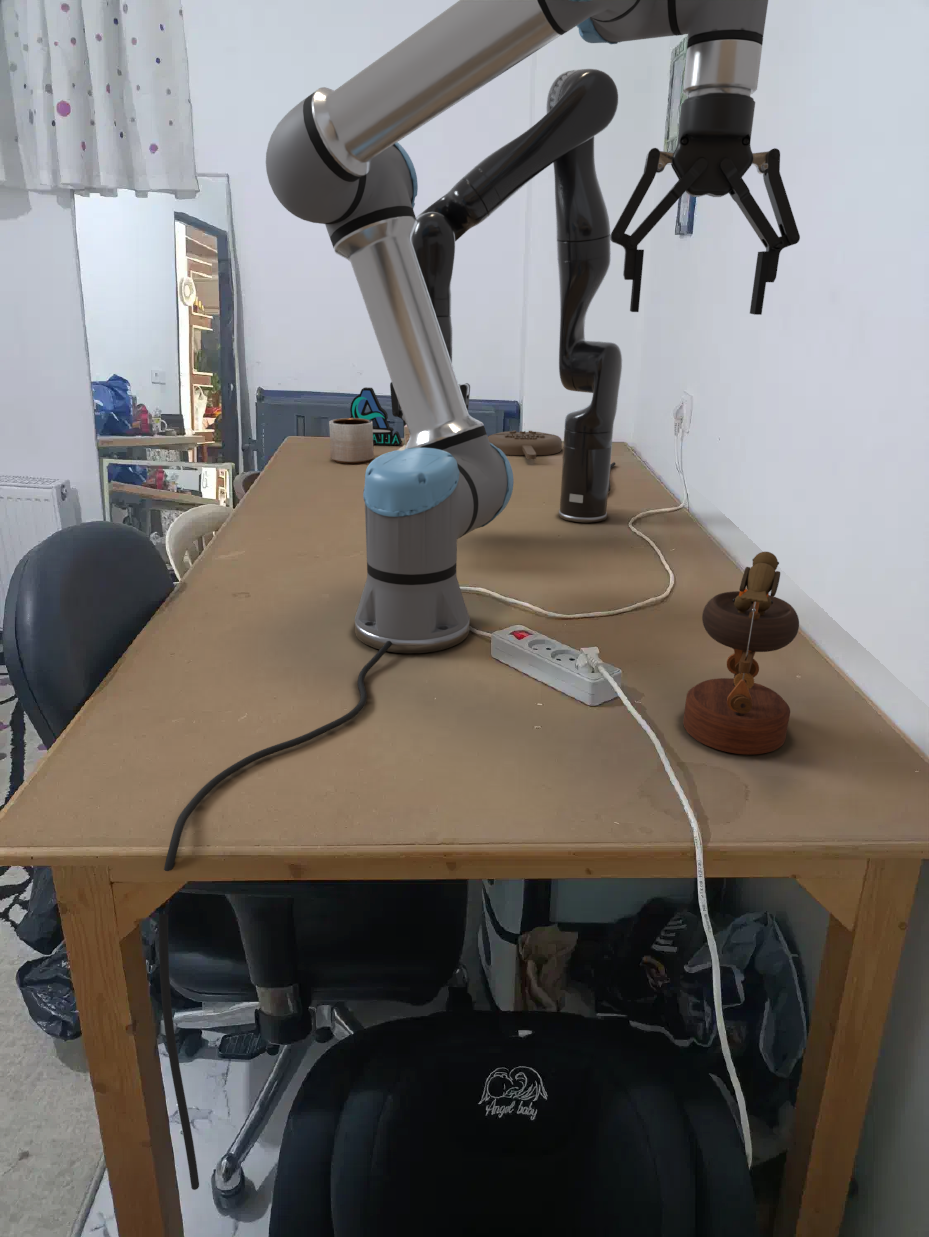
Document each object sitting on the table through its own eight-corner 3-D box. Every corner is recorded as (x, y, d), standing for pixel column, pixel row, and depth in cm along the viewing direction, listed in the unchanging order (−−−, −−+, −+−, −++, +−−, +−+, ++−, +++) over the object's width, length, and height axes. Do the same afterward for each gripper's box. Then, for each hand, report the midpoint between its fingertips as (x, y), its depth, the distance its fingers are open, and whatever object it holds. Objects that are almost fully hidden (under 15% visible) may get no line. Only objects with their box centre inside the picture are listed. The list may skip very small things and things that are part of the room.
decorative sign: (402, 443, 235) (401, 388, 229) (401, 445, 232) (400, 389, 227) (334, 442, 236) (332, 386, 230) (333, 443, 233) (330, 387, 228)
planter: (327, 456, 217) (325, 418, 214) (369, 454, 220) (368, 417, 217) (334, 465, 208) (332, 425, 204) (377, 463, 211) (376, 424, 207)
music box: (807, 766, 83) (825, 574, 75) (692, 766, 84) (698, 577, 77) (772, 695, 97) (784, 526, 89) (674, 696, 98) (678, 530, 91)
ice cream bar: (490, 464, 211) (490, 447, 209) (483, 443, 237) (483, 428, 235) (573, 465, 212) (575, 448, 210) (557, 444, 238) (558, 429, 236)
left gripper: (831, 104, 91) (798, 313, 99) (596, 104, 93) (583, 309, 101) (853, 90, 84) (816, 316, 92) (600, 90, 86) (585, 312, 94)
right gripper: (476, 344, 144) (474, 442, 150) (397, 341, 147) (398, 437, 154) (465, 347, 137) (463, 449, 143) (382, 344, 141) (384, 444, 147)
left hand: (694, 313), depth 96 cm, fingers open, 13 cm apart
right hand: (429, 443), depth 148 cm, fingers closed on stack of blocks, 6 cm apart
